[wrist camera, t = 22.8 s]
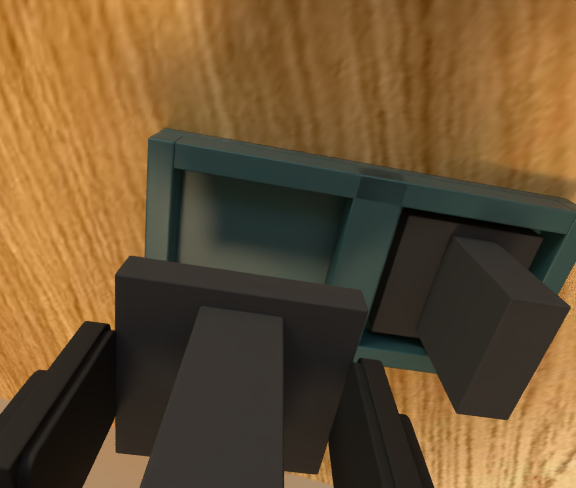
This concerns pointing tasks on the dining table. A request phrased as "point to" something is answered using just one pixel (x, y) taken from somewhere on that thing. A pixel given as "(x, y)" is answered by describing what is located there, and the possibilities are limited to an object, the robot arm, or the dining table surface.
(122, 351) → the pad
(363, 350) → the dock board
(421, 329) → the dark brown stand
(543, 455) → the dining table surface
